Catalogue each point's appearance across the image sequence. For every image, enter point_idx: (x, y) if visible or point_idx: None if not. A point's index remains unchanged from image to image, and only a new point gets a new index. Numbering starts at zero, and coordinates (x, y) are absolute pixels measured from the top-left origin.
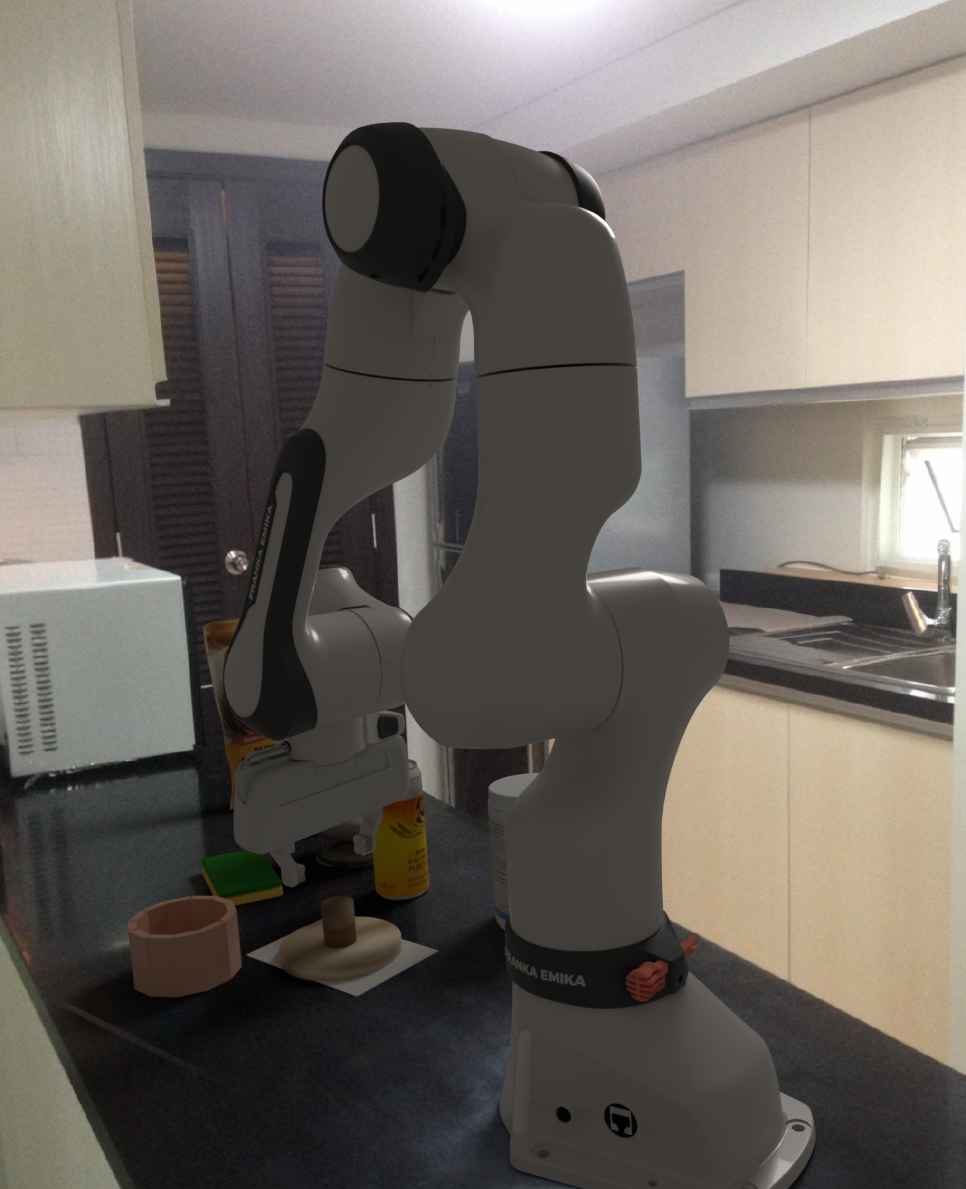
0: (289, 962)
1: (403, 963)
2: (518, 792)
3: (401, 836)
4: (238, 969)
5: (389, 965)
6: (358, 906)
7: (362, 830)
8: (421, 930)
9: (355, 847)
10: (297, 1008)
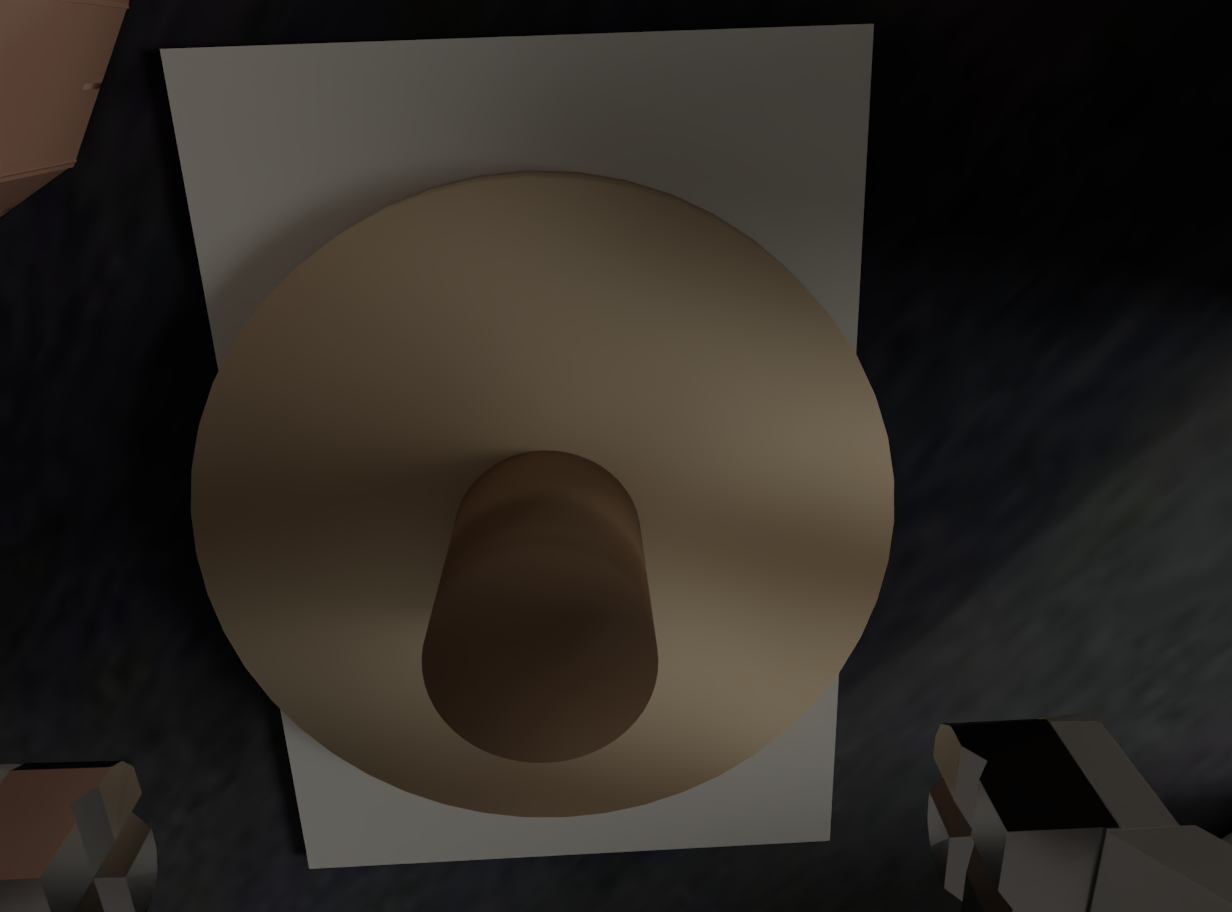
0: (195, 513)
1: (644, 813)
2: None
3: None
4: (24, 194)
5: None
6: (1136, 18)
7: (1145, 895)
8: (1005, 596)
9: (959, 766)
10: (90, 721)
